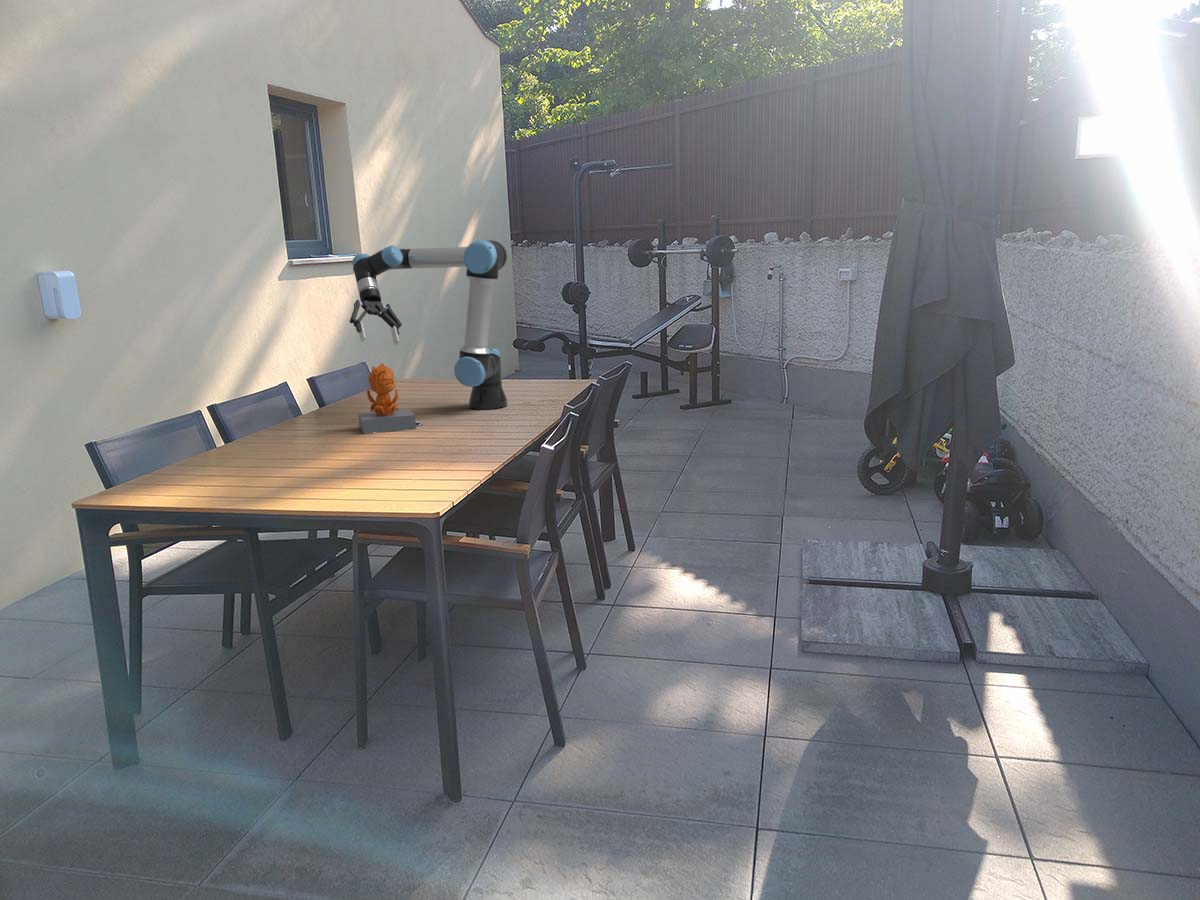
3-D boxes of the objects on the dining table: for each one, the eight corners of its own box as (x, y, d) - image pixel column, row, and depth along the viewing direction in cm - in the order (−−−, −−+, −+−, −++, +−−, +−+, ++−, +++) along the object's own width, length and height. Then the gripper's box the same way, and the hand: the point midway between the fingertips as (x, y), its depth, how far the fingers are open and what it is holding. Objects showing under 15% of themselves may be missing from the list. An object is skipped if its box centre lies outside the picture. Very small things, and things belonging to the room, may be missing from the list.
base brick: (409, 422, 331) (408, 409, 330) (416, 428, 318) (415, 415, 317) (359, 427, 325) (358, 413, 324) (363, 434, 312) (362, 420, 311)
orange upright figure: (405, 411, 325) (401, 361, 321) (394, 417, 314) (390, 365, 310) (375, 411, 326) (371, 362, 322) (364, 417, 316) (359, 366, 312)
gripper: (394, 301, 351) (405, 349, 344) (333, 293, 334) (344, 343, 328) (403, 291, 346) (414, 339, 339) (342, 282, 329) (353, 332, 322)
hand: (380, 341), depth 333 cm, fingers open, 13 cm apart
